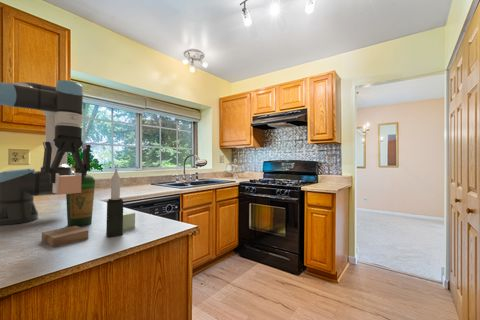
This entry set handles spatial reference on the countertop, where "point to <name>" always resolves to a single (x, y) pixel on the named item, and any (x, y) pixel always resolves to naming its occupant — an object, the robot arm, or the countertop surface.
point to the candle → (115, 209)
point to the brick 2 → (128, 219)
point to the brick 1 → (69, 184)
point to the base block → (64, 236)
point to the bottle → (81, 202)
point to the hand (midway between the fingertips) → (67, 191)
